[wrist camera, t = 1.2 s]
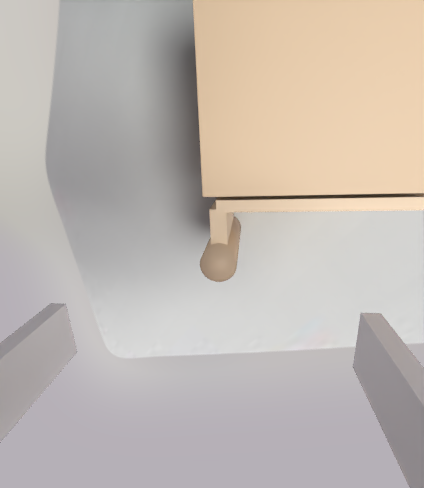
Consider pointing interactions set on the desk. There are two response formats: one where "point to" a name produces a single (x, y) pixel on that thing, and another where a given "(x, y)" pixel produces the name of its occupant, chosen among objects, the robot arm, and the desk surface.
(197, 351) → the desk surface
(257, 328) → the desk surface
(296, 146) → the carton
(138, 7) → the desk surface
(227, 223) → the flap
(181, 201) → the desk surface
